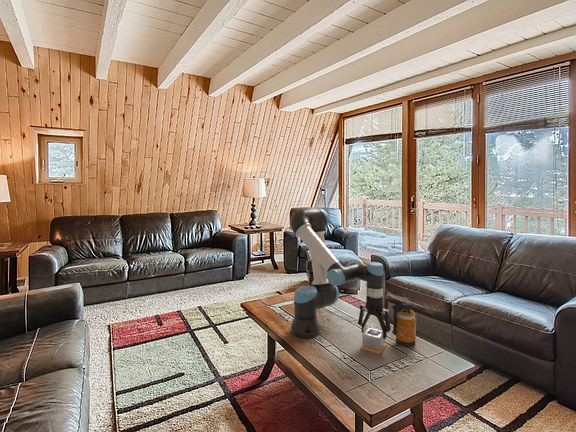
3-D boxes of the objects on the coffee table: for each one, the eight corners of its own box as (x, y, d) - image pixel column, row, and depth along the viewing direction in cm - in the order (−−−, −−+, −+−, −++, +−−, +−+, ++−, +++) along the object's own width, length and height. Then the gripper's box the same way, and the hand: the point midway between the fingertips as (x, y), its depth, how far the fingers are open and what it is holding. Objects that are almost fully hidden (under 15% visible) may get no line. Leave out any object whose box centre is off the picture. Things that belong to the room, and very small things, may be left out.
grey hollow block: (362, 345, 163) (362, 333, 162) (369, 339, 169) (369, 327, 169) (378, 350, 158) (378, 338, 158) (384, 343, 165) (385, 331, 164)
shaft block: (360, 348, 163) (361, 333, 162) (368, 341, 170) (368, 326, 169) (379, 354, 158) (379, 338, 157) (386, 346, 165) (386, 331, 164)
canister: (416, 348, 163) (418, 307, 161) (392, 346, 165) (393, 305, 163) (413, 339, 172) (415, 300, 170) (390, 337, 174) (391, 299, 172)
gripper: (350, 293, 164) (350, 339, 167) (393, 302, 152) (392, 351, 154) (357, 289, 170) (356, 333, 173) (399, 297, 158) (398, 344, 161)
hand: (373, 341), depth 164 cm, fingers closed on grey hollow block, 8 cm apart
